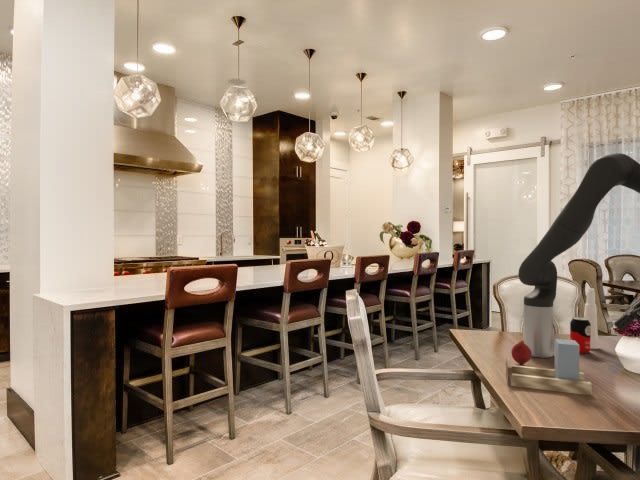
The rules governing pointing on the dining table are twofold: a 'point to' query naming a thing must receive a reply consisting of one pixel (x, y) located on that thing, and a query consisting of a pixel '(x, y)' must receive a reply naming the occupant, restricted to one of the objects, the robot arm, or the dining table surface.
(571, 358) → the block
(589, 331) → the beverage can
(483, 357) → the dining table surface
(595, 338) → the cosmetic bottle
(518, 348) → the pomegranate
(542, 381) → the wooden tray frame
